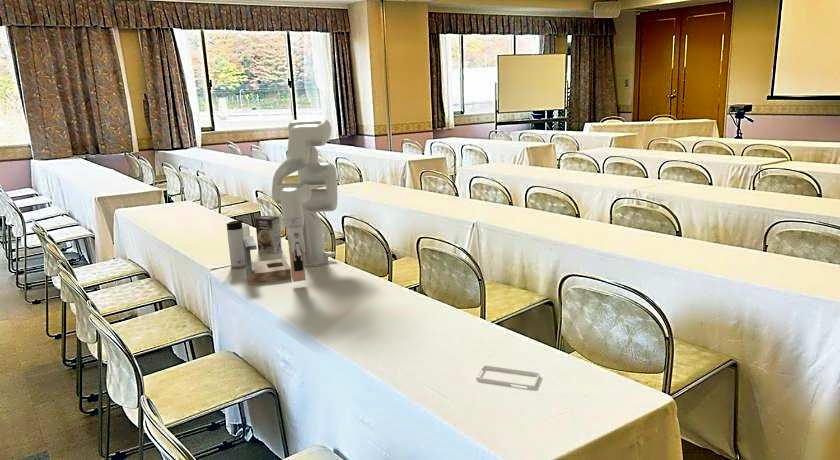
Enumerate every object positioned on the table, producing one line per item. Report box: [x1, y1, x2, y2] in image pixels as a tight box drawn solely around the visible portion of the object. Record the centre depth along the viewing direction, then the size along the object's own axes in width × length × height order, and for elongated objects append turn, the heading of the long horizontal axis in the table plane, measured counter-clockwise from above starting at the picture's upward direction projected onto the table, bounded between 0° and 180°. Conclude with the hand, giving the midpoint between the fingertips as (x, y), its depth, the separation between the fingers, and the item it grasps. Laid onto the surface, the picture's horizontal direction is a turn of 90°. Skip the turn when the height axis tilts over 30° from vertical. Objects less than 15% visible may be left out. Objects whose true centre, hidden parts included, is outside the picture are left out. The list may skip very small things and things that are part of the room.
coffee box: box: [254, 215, 283, 255], centre depth 281 cm, size 9×6×16 cm
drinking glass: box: [242, 223, 251, 237], centre depth 271 cm, size 7×7×15 cm
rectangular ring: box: [475, 364, 541, 390], centre depth 157 cm, size 7×1×15 cm
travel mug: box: [226, 220, 246, 270], centre depth 258 cm, size 6×7×20 cm
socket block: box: [242, 235, 292, 285], centre depth 245 cm, size 16×16×15 cm
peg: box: [288, 247, 307, 283], centre depth 231 cm, size 4×4×12 cm
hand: (297, 268), depth 231 cm, fingers closed on peg, 4 cm apart
